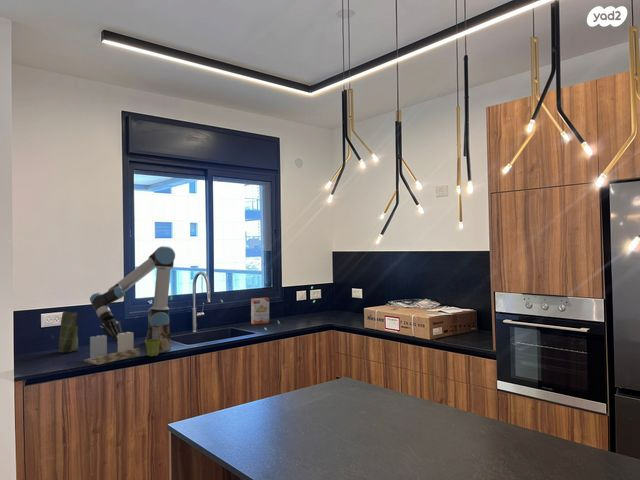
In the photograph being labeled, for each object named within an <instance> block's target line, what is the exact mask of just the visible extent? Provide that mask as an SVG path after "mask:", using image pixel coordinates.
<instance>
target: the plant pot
mask: <svg viewBox="0 0 640 480" xmlns="http://www.w3.org/2000/svg"><path fill="white" fill-rule="evenodd" d="M160 341H161V339H150V340H146V339H145V340H144V344H145V347H146V348H145V349H146V355H147V356H148V357H153V356H155V357H156V356H158V355H159V354H160V353H159V346H160Z"/></svg>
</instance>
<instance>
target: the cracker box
mask: <svg viewBox="0 0 640 480" xmlns="http://www.w3.org/2000/svg"><path fill="white" fill-rule="evenodd" d="M250 303H251V304H250V305H251V306H250V309H251V310H250V320H251V321H250V322H251V325H264V324H265V325H266V324H270V298H269V297H257V298H251V299H250Z"/></svg>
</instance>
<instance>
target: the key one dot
mask: <svg viewBox="0 0 640 480" xmlns="http://www.w3.org/2000/svg"><path fill="white" fill-rule="evenodd" d="M134 335H135V334H134V332H131V331H126V332H125V331H124V332H122V333H119V334H118V343H117V352H122V351H127V350H131V349H135V348H134V342H135V341H134Z"/></svg>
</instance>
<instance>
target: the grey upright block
mask: <svg viewBox="0 0 640 480" xmlns="http://www.w3.org/2000/svg"><path fill="white" fill-rule="evenodd" d="M107 352H108V335H103V334H100V335H99V334H98V335H95V336H89V357H90V358H91V359H97V357H99V356H104V355H108V353H107Z"/></svg>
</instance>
